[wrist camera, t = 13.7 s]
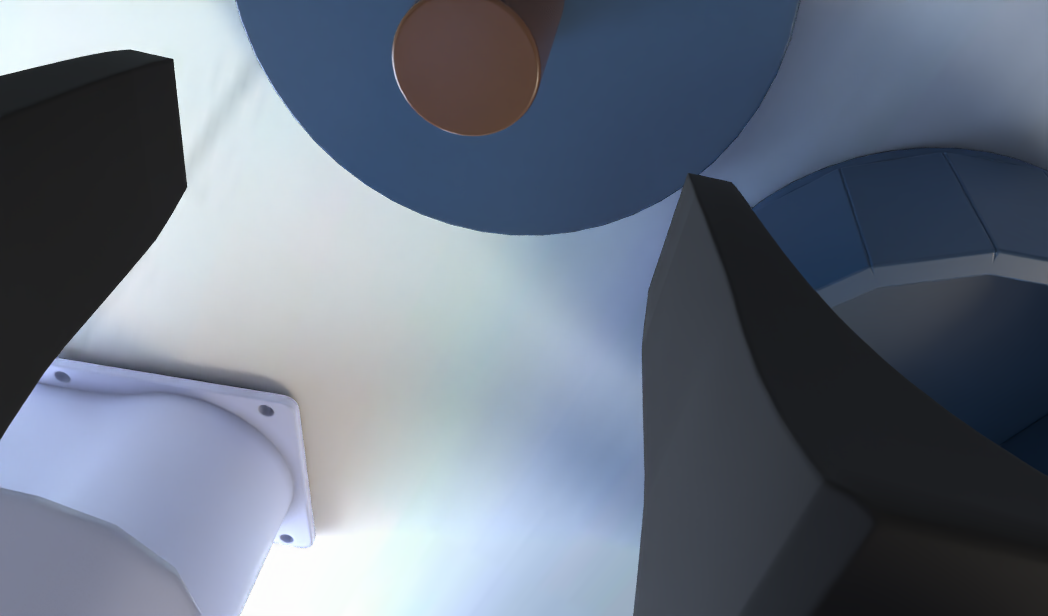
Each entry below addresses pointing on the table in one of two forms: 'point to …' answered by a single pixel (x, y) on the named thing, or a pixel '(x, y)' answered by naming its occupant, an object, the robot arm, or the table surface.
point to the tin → (936, 276)
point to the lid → (521, 98)
